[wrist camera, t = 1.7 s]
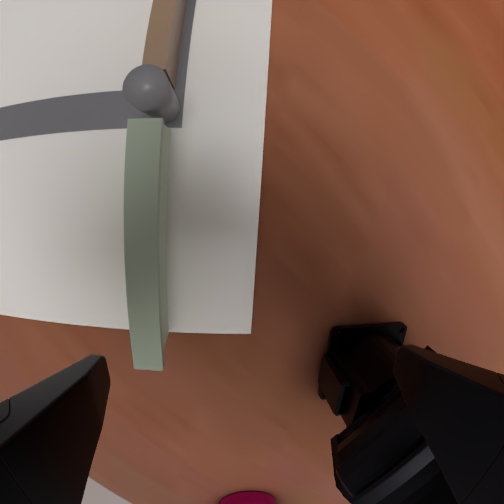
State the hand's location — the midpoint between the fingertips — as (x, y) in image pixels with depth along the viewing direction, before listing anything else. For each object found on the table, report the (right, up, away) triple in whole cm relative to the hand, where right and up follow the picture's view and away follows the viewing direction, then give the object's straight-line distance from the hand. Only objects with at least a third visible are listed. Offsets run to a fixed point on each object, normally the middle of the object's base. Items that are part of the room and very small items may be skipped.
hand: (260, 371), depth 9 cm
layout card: (-10, +11, +8) cm, 17 cm away
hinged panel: (-6, +4, +10) cm, 12 cm away
